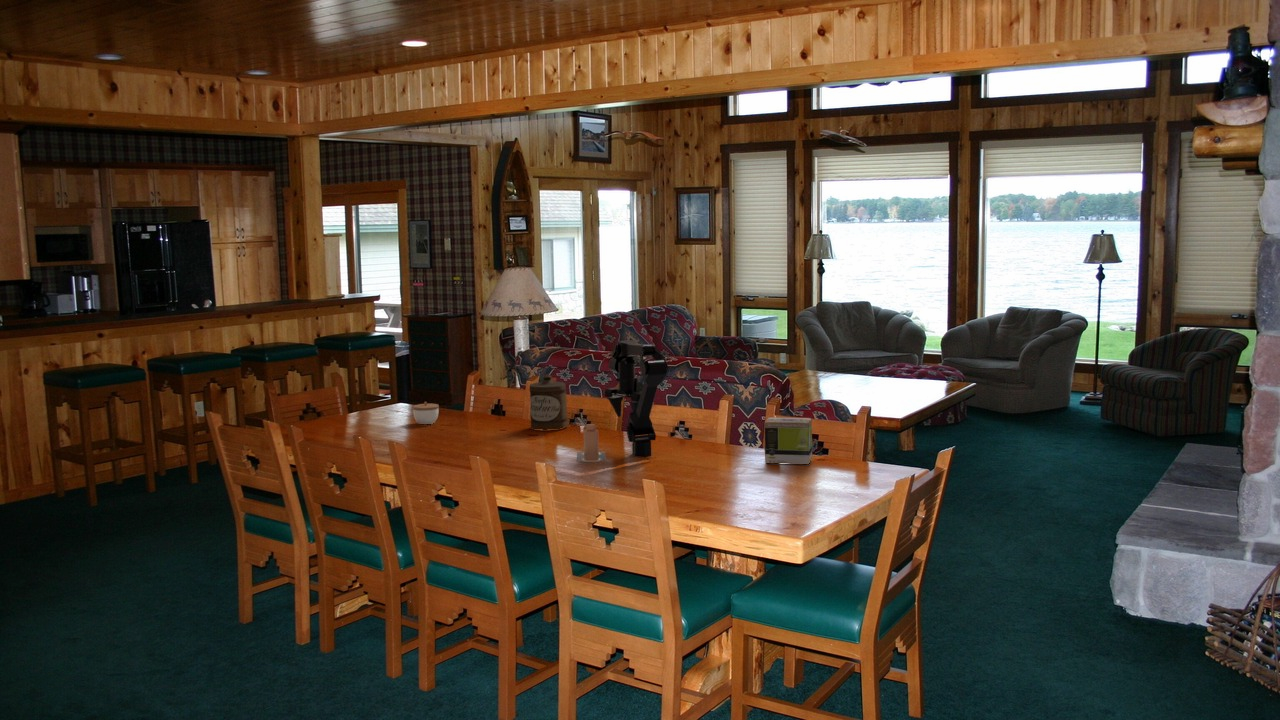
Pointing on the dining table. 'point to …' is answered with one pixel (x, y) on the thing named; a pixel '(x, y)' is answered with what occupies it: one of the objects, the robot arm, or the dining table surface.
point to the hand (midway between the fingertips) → (627, 418)
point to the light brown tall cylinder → (591, 443)
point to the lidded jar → (426, 413)
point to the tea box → (788, 440)
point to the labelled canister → (548, 404)
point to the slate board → (581, 459)
